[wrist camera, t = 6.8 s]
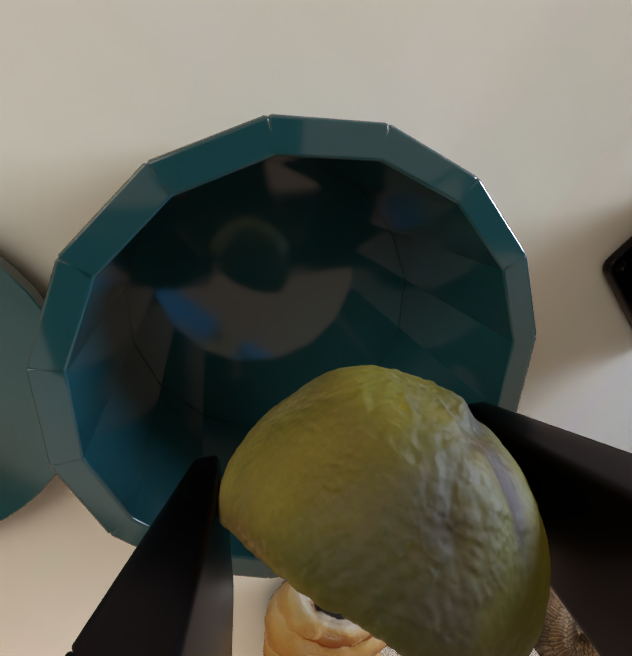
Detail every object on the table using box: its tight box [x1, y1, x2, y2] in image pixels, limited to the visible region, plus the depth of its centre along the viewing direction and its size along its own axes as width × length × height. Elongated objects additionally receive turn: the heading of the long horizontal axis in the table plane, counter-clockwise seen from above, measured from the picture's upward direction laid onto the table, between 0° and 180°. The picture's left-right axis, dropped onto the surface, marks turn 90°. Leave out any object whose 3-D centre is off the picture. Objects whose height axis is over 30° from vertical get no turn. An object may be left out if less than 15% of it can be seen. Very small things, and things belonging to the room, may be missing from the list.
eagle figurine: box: [534, 587, 599, 656], centre depth 26 cm, size 8×7×9 cm
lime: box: [218, 365, 551, 656], centre depth 7 cm, size 4×5×5 cm
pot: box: [26, 114, 536, 578], centre depth 13 cm, size 12×12×7 cm
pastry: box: [263, 581, 387, 656], centre depth 22 cm, size 9×7×4 cm
